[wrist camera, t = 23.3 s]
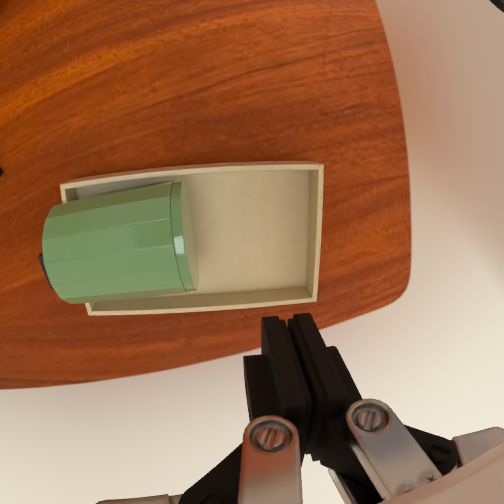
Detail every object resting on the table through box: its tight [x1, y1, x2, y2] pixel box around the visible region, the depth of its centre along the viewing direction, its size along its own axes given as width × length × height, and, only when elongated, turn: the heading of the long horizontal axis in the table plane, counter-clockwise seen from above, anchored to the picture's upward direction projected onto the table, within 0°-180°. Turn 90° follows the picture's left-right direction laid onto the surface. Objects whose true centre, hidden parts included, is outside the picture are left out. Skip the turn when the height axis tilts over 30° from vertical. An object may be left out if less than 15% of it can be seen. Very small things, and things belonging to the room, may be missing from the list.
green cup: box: [42, 180, 199, 304], centre depth 19 cm, size 7×7×9 cm
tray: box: [60, 161, 324, 315], centre depth 23 cm, size 19×11×3 cm, turn 91°
